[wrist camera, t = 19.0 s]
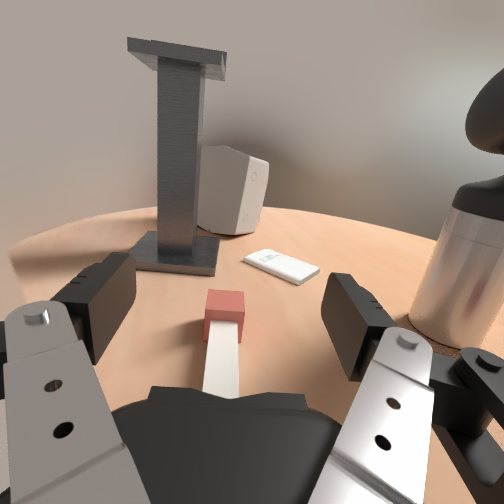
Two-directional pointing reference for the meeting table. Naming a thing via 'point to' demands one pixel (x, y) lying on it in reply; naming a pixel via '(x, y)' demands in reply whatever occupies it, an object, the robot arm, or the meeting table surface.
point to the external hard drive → (282, 266)
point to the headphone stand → (178, 157)
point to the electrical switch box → (230, 190)
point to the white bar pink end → (223, 342)
